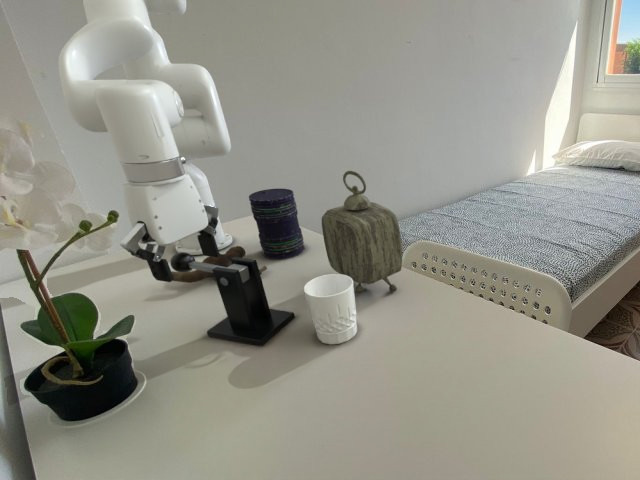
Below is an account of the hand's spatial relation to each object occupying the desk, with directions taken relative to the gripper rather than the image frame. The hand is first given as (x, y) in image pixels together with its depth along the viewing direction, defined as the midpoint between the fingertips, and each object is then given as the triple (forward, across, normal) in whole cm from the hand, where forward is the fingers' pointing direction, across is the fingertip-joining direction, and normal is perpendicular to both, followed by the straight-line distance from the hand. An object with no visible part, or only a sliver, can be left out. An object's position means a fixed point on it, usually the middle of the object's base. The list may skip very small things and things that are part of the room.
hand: (189, 267), depth 72 cm
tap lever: (+1, 0, +4) cm, 4 cm away
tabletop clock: (+11, -18, +24) cm, 32 cm away
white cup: (+11, -2, +26) cm, 28 cm away
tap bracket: (+11, 0, +10) cm, 15 cm away
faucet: (+11, -16, -9) cm, 21 cm away
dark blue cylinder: (+11, -30, -6) cm, 32 cm away
